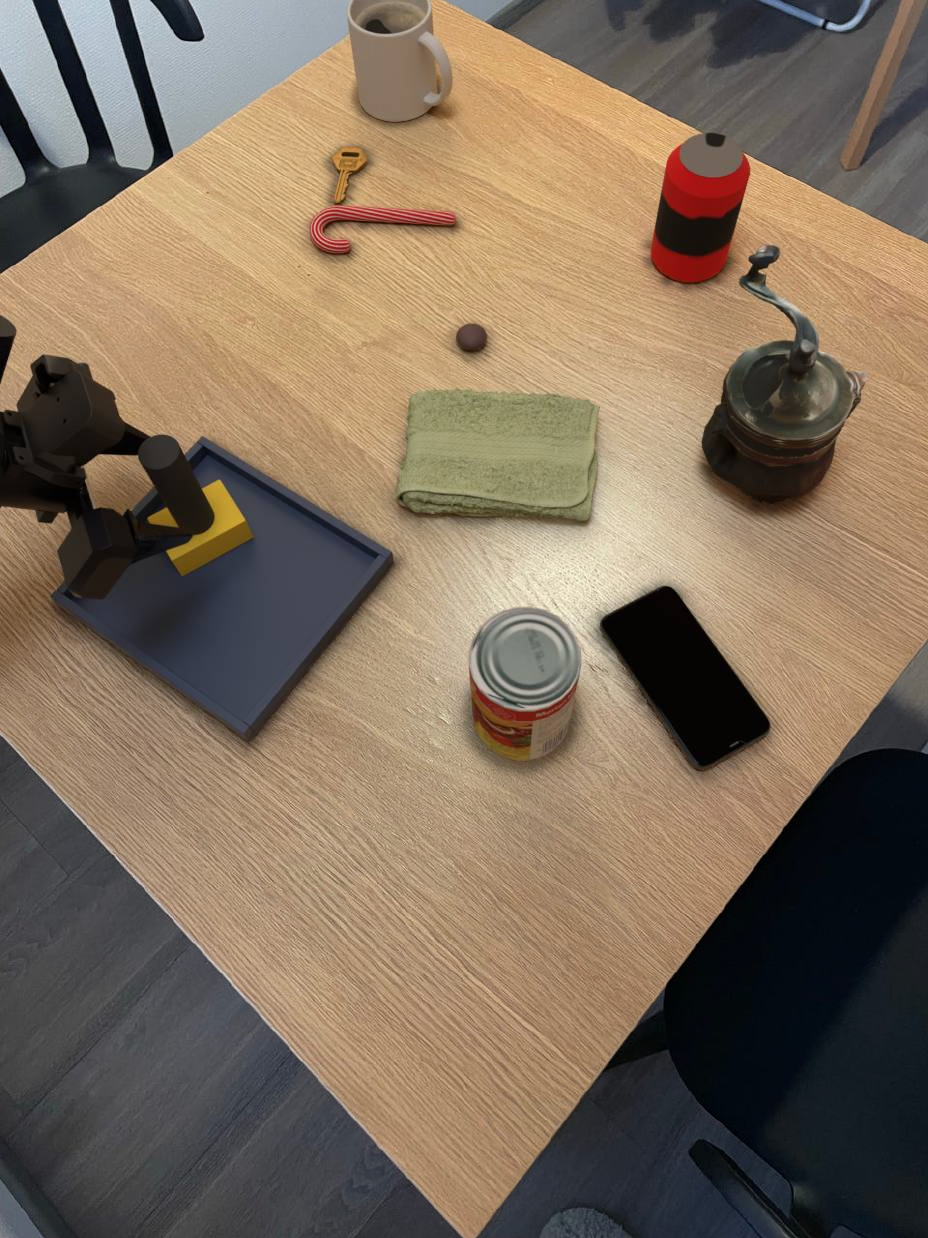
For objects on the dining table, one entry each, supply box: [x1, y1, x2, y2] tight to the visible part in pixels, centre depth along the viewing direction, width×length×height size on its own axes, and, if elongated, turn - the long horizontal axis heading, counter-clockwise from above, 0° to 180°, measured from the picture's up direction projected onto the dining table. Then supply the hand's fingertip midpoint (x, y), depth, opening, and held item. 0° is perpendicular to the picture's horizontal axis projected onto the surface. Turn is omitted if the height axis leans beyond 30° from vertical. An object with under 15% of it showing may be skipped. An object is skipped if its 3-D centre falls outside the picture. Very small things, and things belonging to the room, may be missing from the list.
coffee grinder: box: [701, 244, 868, 506], centre depth 80 cm, size 13×15×18 cm
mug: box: [346, 0, 454, 123], centre depth 105 cm, size 11×10×10 cm
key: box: [331, 146, 368, 205], centre depth 104 cm, size 4×8×1 cm, turn 173°
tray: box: [49, 435, 395, 743], centre depth 83 cm, size 20×22×2 cm
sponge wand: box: [137, 433, 253, 576], centre depth 80 cm, size 7×5×13 cm
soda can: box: [650, 132, 751, 283], centre depth 93 cm, size 8×8×12 cm
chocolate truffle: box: [455, 322, 488, 351], centre depth 94 cm, size 3×3×2 cm
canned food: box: [468, 606, 582, 762], centre depth 73 cm, size 8×8×12 cm
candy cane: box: [308, 204, 457, 254], centre depth 100 cm, size 6×15×2 cm, turn 84°
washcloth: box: [394, 388, 601, 522], centre depth 87 cm, size 13×18×3 cm
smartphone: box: [599, 585, 772, 771], centre depth 79 cm, size 7×1×15 cm
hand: (174, 492), depth 79 cm, fingers open, 9 cm apart
